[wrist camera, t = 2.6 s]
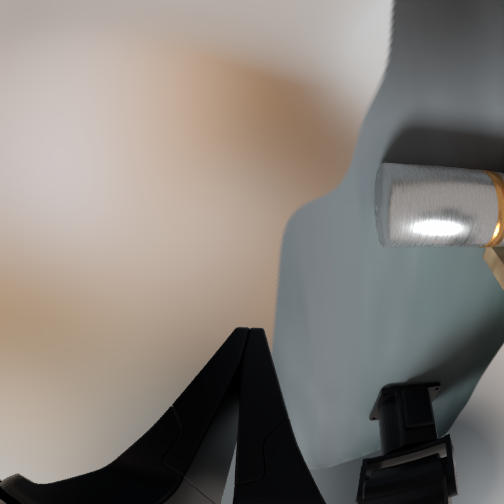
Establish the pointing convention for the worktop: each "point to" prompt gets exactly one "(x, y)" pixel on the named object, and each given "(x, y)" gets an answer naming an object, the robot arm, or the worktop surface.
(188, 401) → the robot arm
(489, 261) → the brown piece
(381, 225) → the tube
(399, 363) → the worktop surface
